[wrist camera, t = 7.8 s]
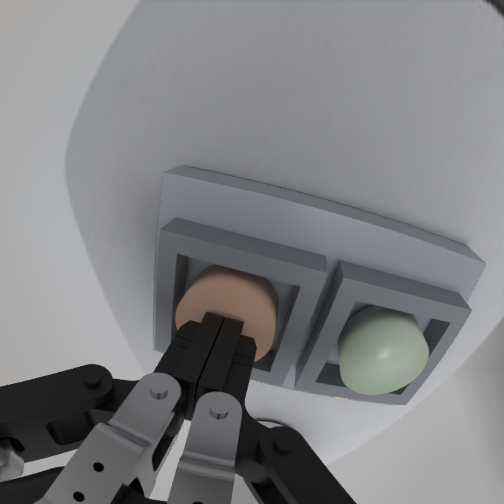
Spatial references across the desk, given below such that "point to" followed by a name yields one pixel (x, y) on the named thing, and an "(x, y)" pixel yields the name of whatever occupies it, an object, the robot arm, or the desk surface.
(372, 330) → the button one
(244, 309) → the button two
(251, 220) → the two-button control panel
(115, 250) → the desk surface
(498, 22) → the desk surface
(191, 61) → the desk surface
